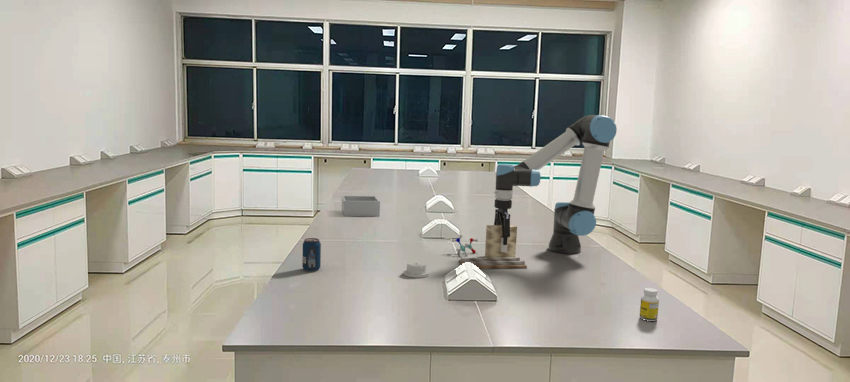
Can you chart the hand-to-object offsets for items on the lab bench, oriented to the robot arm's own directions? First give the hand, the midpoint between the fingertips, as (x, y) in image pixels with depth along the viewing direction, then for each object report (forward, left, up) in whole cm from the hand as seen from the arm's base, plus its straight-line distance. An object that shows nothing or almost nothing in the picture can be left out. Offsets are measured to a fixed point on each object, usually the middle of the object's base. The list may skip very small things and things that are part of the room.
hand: (500, 249), depth 273 cm
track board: (+8, +14, -3) cm, 16 cm away
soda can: (+83, +18, -4) cm, 85 cm away
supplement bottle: (-22, +84, -4) cm, 87 cm away
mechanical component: (+43, +27, -4) cm, 51 cm away
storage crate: (+52, -112, -3) cm, 124 cm away
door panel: (0, 0, -3) cm, 3 cm away
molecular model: (+15, -7, -4) cm, 17 cm away
